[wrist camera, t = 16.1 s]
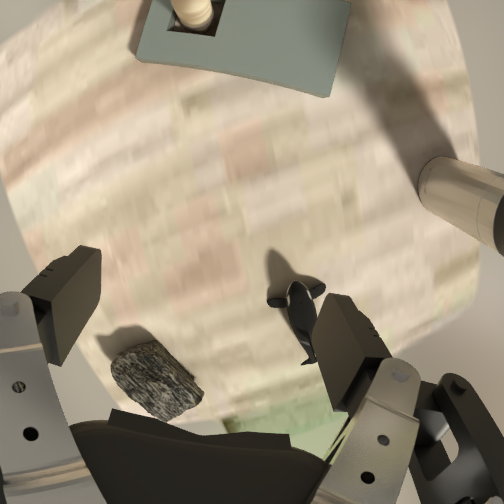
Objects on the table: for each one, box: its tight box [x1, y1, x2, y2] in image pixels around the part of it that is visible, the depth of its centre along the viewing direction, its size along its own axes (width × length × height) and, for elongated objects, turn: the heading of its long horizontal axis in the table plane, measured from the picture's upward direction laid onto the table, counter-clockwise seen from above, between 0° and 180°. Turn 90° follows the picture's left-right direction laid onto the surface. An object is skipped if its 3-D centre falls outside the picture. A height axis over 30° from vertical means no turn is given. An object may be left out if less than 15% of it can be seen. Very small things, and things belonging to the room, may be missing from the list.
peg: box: [171, 0, 214, 34], centre depth 28 cm, size 4×4×9 cm
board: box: [135, 0, 351, 98], centre depth 32 cm, size 24×14×3 cm, turn 77°
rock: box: [111, 341, 204, 423], centre depth 50 cm, size 12×16×6 cm
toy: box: [267, 280, 326, 365], centre depth 47 cm, size 21×10×10 cm, turn 16°
